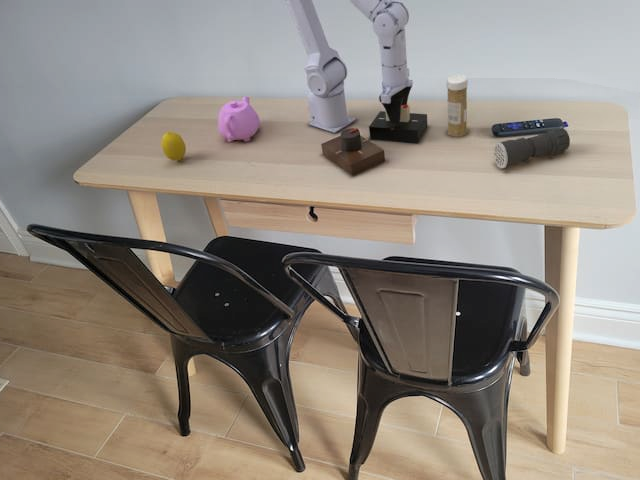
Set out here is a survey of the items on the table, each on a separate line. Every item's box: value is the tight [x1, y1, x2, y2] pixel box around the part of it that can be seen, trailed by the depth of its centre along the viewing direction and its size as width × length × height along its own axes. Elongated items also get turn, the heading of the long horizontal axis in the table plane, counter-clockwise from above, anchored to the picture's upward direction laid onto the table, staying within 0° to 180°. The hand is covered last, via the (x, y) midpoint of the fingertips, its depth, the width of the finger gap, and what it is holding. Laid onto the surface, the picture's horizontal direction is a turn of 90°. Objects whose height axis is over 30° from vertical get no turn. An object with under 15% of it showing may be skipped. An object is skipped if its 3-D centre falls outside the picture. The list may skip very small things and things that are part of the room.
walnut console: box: [320, 134, 386, 177], centre depth 132 cm, size 13×9×3 cm
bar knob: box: [384, 104, 411, 122], centre depth 136 cm, size 6×2×4 cm, turn 67°
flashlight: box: [493, 127, 571, 169], centre depth 122 cm, size 15×5×5 cm, turn 105°
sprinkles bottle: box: [446, 74, 469, 138], centre depth 132 cm, size 5×5×14 cm
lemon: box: [160, 131, 187, 162], centre depth 141 cm, size 6×6×8 cm
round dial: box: [339, 127, 361, 151], centre depth 130 cm, size 4×4×4 cm
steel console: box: [368, 110, 429, 145], centre depth 138 cm, size 12×10×4 cm
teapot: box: [217, 96, 261, 143], centre depth 147 cm, size 10×15×9 cm
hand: (397, 118), depth 137 cm, fingers open, 4 cm apart
